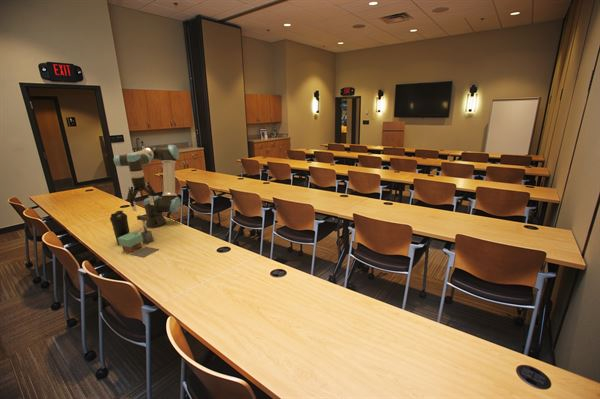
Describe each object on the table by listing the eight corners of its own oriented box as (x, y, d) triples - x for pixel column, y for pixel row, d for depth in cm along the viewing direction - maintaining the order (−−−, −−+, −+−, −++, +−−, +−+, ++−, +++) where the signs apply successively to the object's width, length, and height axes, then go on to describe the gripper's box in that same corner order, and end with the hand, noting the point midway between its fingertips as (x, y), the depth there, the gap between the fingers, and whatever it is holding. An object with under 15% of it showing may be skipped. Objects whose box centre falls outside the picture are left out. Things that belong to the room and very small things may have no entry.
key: (142, 229, 206) (139, 215, 203) (151, 231, 203) (148, 216, 200) (129, 235, 197) (125, 220, 194) (138, 237, 194) (135, 221, 191)
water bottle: (135, 239, 211) (129, 209, 205) (126, 246, 202) (119, 214, 195) (122, 239, 212) (115, 209, 206) (112, 246, 203) (105, 214, 196)
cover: (132, 238, 200) (131, 231, 199) (143, 240, 197) (141, 233, 195) (119, 245, 192) (117, 237, 190) (129, 247, 188) (128, 239, 186)
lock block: (148, 240, 209) (146, 229, 207) (153, 241, 207) (151, 230, 205) (142, 243, 205) (140, 232, 202) (147, 244, 203) (145, 233, 201)
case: (134, 246, 201) (132, 239, 199) (142, 248, 198) (140, 241, 196) (123, 251, 194) (121, 244, 192) (131, 253, 191) (130, 246, 189)
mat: (146, 246, 199) (145, 246, 199) (159, 249, 194) (158, 249, 194) (130, 254, 188) (130, 254, 188) (143, 257, 184) (143, 257, 184)
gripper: (149, 173, 204) (154, 202, 210) (115, 180, 182) (122, 213, 188) (157, 173, 201) (162, 202, 207) (124, 181, 179) (131, 214, 185)
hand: (143, 207), depth 197 cm, fingers open, 13 cm apart
